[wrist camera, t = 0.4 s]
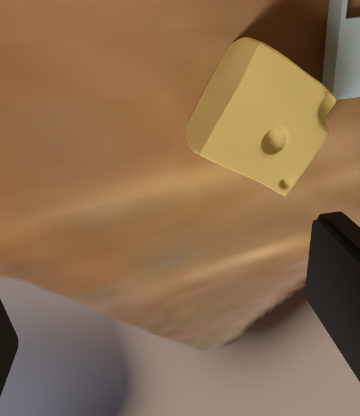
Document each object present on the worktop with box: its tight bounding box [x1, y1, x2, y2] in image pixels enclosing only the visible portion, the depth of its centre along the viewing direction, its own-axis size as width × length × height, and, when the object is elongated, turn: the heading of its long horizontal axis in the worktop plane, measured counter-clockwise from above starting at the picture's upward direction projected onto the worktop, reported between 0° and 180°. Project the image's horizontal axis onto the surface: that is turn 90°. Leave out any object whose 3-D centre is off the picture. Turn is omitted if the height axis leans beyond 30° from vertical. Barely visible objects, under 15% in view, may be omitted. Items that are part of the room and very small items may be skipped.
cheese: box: [186, 37, 337, 196], centre depth 33 cm, size 10×11×10 cm
